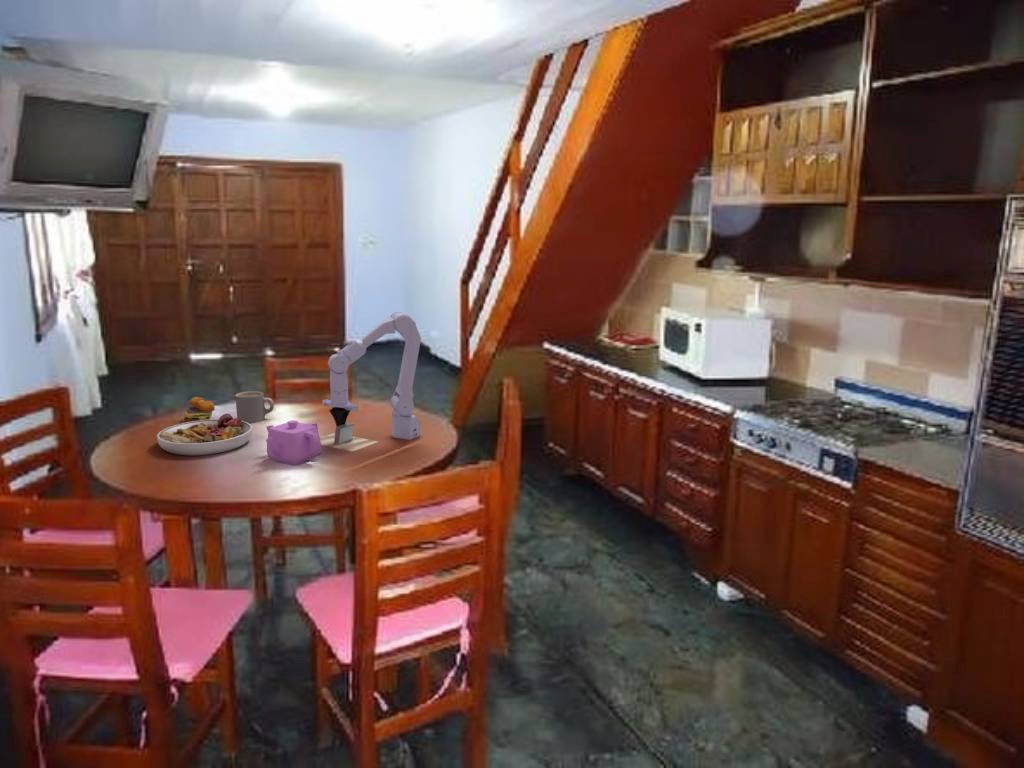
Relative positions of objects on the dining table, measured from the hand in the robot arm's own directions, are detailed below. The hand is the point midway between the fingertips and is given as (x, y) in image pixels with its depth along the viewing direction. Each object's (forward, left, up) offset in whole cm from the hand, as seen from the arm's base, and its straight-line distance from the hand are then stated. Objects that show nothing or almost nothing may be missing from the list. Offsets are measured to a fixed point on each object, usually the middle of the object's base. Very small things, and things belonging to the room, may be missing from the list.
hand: (340, 429), depth 253 cm
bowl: (+39, +24, -6) cm, 46 cm away
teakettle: (+3, +19, -6) cm, 20 cm away
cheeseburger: (+67, +6, -6) cm, 68 cm away
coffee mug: (+50, -6, -6) cm, 51 cm away
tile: (-1, 0, -4) cm, 4 cm away
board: (-1, 0, -6) cm, 6 cm away
